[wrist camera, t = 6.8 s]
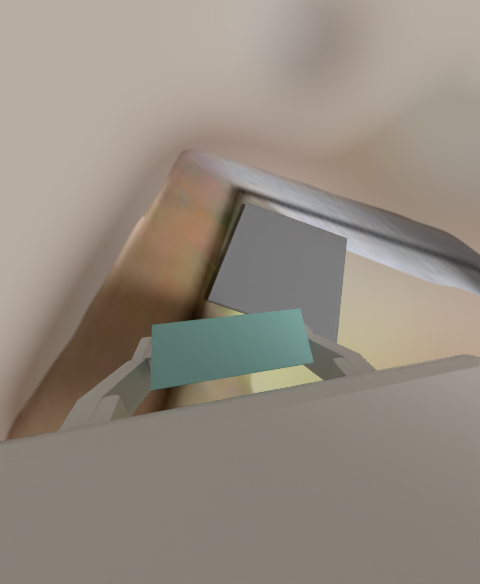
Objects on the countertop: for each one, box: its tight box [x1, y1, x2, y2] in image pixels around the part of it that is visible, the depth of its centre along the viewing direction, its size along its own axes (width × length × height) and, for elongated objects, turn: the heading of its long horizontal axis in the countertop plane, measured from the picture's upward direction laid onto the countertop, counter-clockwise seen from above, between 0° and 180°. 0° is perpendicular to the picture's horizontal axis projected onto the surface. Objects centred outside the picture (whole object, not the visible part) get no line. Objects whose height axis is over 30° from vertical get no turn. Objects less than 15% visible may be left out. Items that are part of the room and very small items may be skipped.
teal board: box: [151, 308, 314, 390], centre depth 11 cm, size 2×6×9 cm, turn 98°
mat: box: [208, 202, 347, 343], centre depth 24 cm, size 16×16×1 cm
